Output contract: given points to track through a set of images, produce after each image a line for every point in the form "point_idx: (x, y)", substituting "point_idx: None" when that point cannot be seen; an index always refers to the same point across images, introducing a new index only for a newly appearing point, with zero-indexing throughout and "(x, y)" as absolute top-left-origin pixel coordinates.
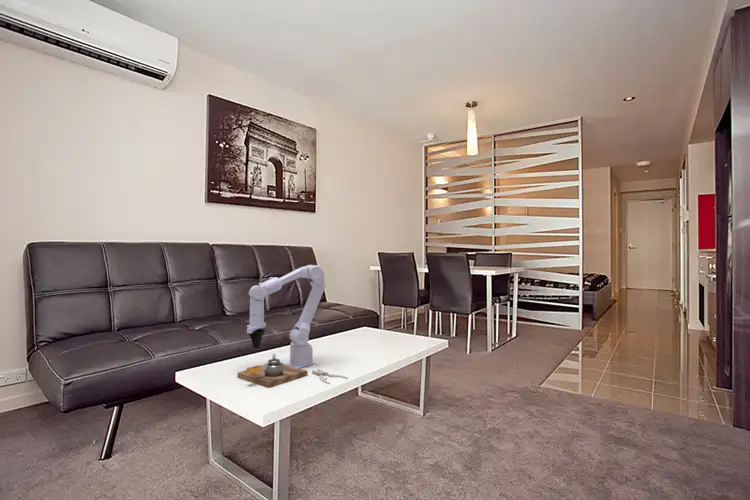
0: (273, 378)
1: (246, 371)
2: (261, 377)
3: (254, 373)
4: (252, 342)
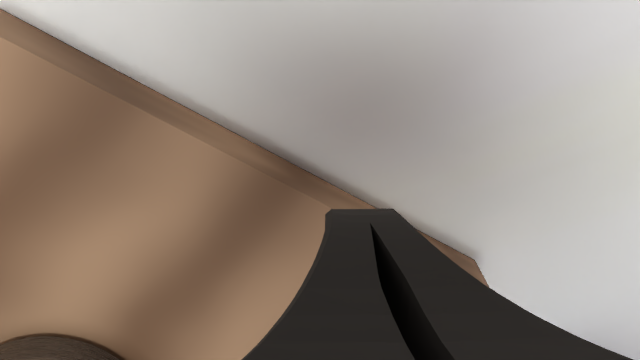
0: None
1: (50, 114)
2: None
3: (10, 233)
4: (313, 264)
